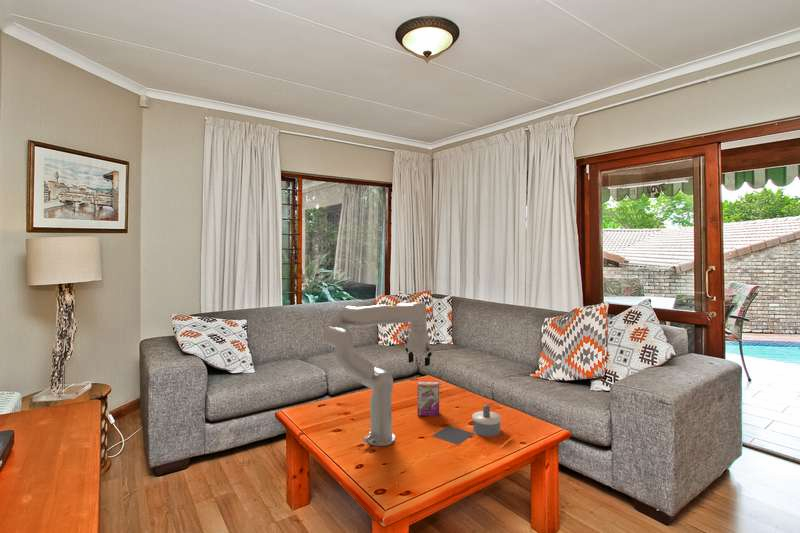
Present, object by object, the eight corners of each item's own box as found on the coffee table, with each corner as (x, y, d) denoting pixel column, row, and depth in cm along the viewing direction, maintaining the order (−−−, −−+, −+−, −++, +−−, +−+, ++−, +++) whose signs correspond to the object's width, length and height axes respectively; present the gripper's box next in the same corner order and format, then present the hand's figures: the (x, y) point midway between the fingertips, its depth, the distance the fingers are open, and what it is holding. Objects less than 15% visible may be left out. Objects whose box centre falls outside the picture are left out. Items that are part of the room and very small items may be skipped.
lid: (492, 427, 182) (492, 413, 182) (467, 420, 190) (466, 406, 190) (505, 417, 192) (505, 404, 192) (480, 411, 200) (480, 398, 200)
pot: (492, 440, 183) (492, 426, 183) (468, 432, 190) (468, 420, 190) (504, 430, 192) (504, 418, 192) (481, 424, 200) (481, 411, 199)
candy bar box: (417, 416, 210) (417, 384, 210) (418, 412, 215) (417, 381, 215) (439, 416, 209) (439, 384, 209) (439, 413, 214) (439, 381, 214)
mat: (458, 446, 178) (458, 444, 178) (431, 437, 187) (431, 435, 187) (474, 434, 188) (474, 433, 188) (448, 426, 197) (448, 425, 197)
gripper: (399, 327, 199) (400, 362, 200) (428, 331, 188) (429, 368, 189) (409, 325, 205) (409, 359, 206) (438, 328, 194) (438, 365, 195)
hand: (419, 363), depth 197 cm, fingers open, 9 cm apart
